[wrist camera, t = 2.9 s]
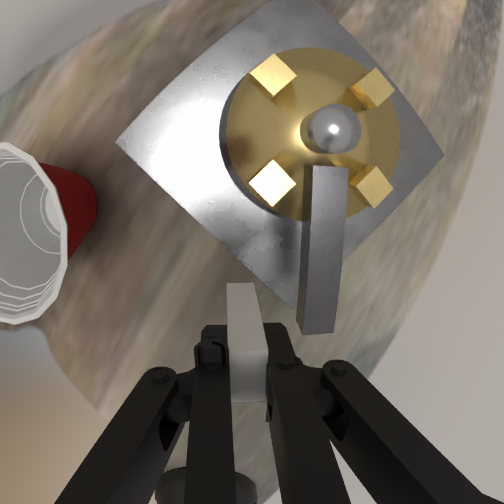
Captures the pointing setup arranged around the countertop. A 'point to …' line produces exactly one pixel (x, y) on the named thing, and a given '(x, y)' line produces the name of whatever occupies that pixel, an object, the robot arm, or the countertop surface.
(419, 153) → the flange plate
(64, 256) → the plastic cup
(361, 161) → the brass dial with lever
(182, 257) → the countertop surface
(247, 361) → the robot arm
